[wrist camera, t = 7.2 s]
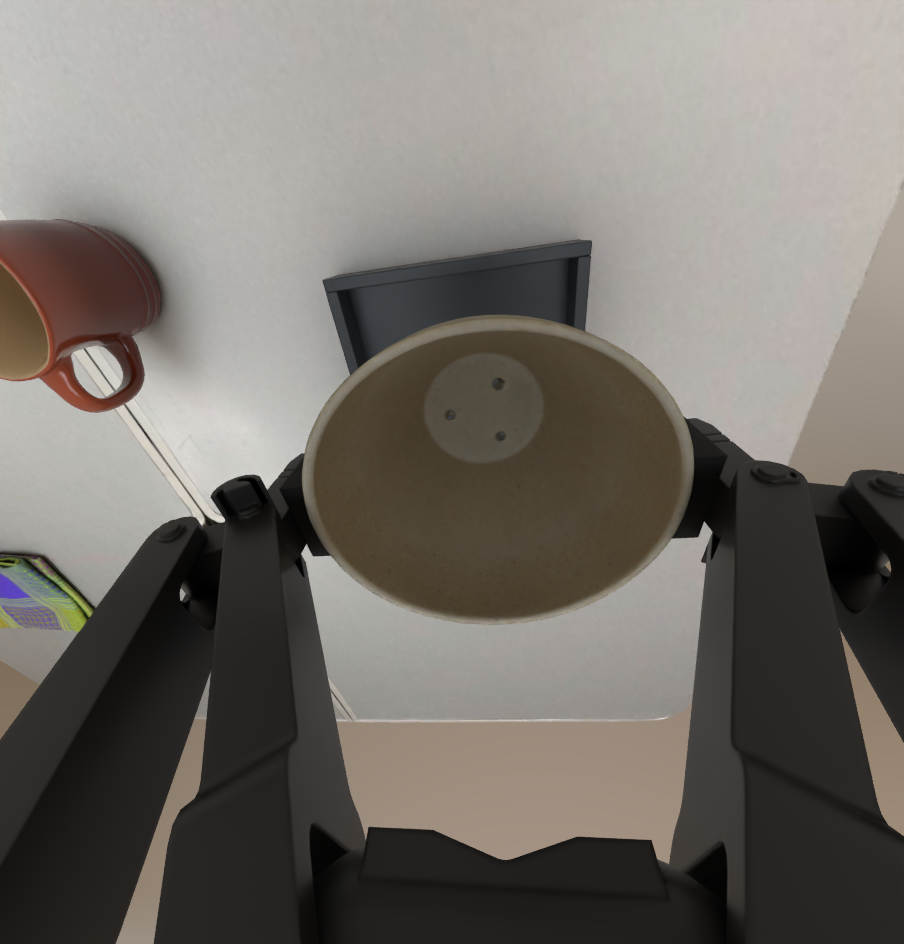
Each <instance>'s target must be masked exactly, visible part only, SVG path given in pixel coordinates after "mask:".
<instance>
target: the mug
mask: <svg viewBox="0 0 904 944" xmlns="http://www.w3.org/2000/svg"><path fill="white" fill-rule="evenodd" d="M160 309H161V296H160V291H159V287H158V284H157V282H156V279H155V277H154V275H153V273H152V272H151V270H150V268H149V267H148V265H147V264H146V262H145V261H144V260H143V259H142V257H141V256H140V255H139V254H138V253H137V252H136V251H135V250H134V249H133V248H132V247H131V246H130V245H129V244H127V243H126V242H125V241H124V240H122V239H121V238H119V237H118V236H116V235H115V234H113V233H111V232H109V231H107V230H105V229H102V228H99V227H96V226H91V225H88V224H85V223H80V222H73V221H69V220H63V219H54V220H0V379H4V380H9V381H27V380H32V379H36V378H39V379H41V380H42V381H43V382H44V383H45V384H46V385H47V386H48V387H50V388H51V389H52V390H54V391H55V392H56V393H57V394H58V395H59V396H60V397H61V398H63V399H64V400H65V401H66V402H68V403H69V404H71V405H72V406H74V407H76V408H78V409H80V410H83V411H87V412H95V413H99V412H105V411H109V410H112V409H115V408H118V407H120V406H122V405H124V404H125V403H127V402H129V401H130V400H131V399H133V398H134V397H135V396H136V395H137V394H138V392H139V391H140V389H141V387H142V385H143V382H144V376H145V373H144V367H143V363H142V359H141V355H140V352H139V349H138V346H137V344H136V342H135V341H134V339H133V337H132V336H134V335H136V334H137V333H139V332H141V331H143V330H145V329H146V328H147V327H149V326H150V325H151V324H153V323H154V322H155V321H156V320H157V319H158V317H159V314H160ZM92 346H102V347H104V348H106V349H107V350H108V351H109V352H110V353H111V354H112V355H113V356H114V357H115V358H116V359H117V361H118V362H119V364H120V366H121V368H122V371H123V381H122V383H121V385H120V387H119V388H118V389H117V390H116V391H114V392H113V393H112V394H110V395H109V396H107V397H105V398H103V399H100V398H97V397H94V396H93V395H91V394H90V393H88V392H87V391H86V390H85V389H84V388H83V387H82V386H81V384H80V383H79V381H78V380H77V378H76V376H75V372H74V367H73V362H72V358H71V355H72V353H73V352H75V351H77V350H80V349H84V348H87V347H92Z"/></svg>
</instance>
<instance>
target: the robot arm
mask: <svg viewBox="0 0 904 944" xmlns="http://www.w3.org/2000/svg"><path fill="white" fill-rule="evenodd" d="M683 417H684V416H683ZM684 419H685V421H686V424H687V426H688V429H689V433H690V436H691V440H692V445H693V456H694V479H693V486H692V491H691V496H690V499H689V502H688V506H687V509H686V511H685V514H684V517H683V519H682V521H681V522H680V524H679V526H678V528H677V530H676V532H675V534H674V535H673V537H672V538H671V539H673V538H693V537H698V536H699V534H700V531H701V528H702V525H703V523H704V521H705V523H706V524H707V525H708V527H709V528H710V529H711V530H712V535H711V537H710V540H709V542H708V545H707V547H706V550H705V553H704V555H703V558H702V560H701V562H703V563H706V570H705V580H704V590H703V600H702V610H701V620H700V630H699V640H698V650H697V660H696V670H695V680H694V690H693V700H692V710H691V720H690V731H689V740H688V751H687V760H686V770H685V780H684V790H683V799H682V805H681V810H680V814H679V818H678V821H677V824H676V827H675V831H674V836H673V841H672V847H671V855H670V862H669V864H667V863H665V862H662V861H660V860H658V859H657V858H656V854H655V851H654V847H653V844H652V840H635V839H615V838H594V837H575V838H572V839H569V840H566V841H563V842H560V843H557V844H555V845H552V846H549V847H546V848H543V849H540V850H537V851H534V852H532V853H528V854H525V855H523V856H520V857H517V858H514V859H510V860H501V859H497V858H495V857H493V856H491V855H488V854H486V853H484V852H482V851H479V850H477V849H475V848H473V847H470V846H468V845H466V844H464V843H461V842H459V841H457V840H454V839H452V838H450V837H448V836H445V835H443V834H441V833H439V832H436V831H434V830H422V829H401V828H380V827H369V828H368V834H367V839H366V840H365V836H364V831H363V828H362V824H361V821H360V818H359V815H358V812H357V810H356V808H355V805H354V802H353V800H352V797H351V794H350V790H349V785H348V781H347V776H346V770H345V765H344V760H343V755H342V749H341V745H340V739H339V734H338V729H337V723H336V718H335V713H334V708H333V702H332V697H331V692H330V687H329V682H328V676H327V671H326V666H325V661H324V656H323V650H322V645H321V640H320V635H319V630H318V624H317V619H316V614H315V609H314V603H313V598H312V593H311V588H310V583H309V577H308V572H307V567H306V562H305V560H304V558H303V557H302V555H301V553H302V551H303V549H304V547H305V546H306V544H307V545H308V547H309V549H310V551H311V553H312V555H313V556H331V555H330V554H329V553H328V551H327V550H326V549H325V547H324V546H323V544H322V543H321V541H320V540H319V538H318V536H317V533H316V532H315V530H314V528H313V526H312V524H311V521H310V519H309V516H308V513H307V509H306V505H305V501H304V494H303V486H302V470H303V461H304V455H305V453H303V454H300V455H299V456H298V457H296V458H295V459H293V460H292V461H291V462H290V463H289V464H288V465H287V466H286V468H285V469H284V472H282V473H281V474H280V475H279V476H278V479H276V480H275V481H274V483H273V484H272V485H271V486H270V488H269V489H268V490H267V489H266V487H265V485H264V483H263V482H262V480H261V478H260V476H257V475H244V476H240V477H236V478H234V479H232V480H229V481H227V482H225V483H224V484H222V485H220V486H219V487H218V488H217V489H216V490H215V491H214V492H213V493H212V495H211V498H212V500H213V502H214V503H215V505H216V506H217V508H218V509H219V511H220V512H221V514H222V515H223V517H224V518H225V522H223V523H219V524H216V525H212V526H208V527H205V528H203V527H202V526H201V524H200V523H199V521H198V520H197V519H196V518H195V517H182V518H179V519H176V520H171V521H169V522H168V523H165V524H163V525H161V526H160V527H159V528H158V529H157V530H155V531H154V532H153V533H152V534H151V535H150V536H149V537H148V538H147V539H146V540H145V542H144V543H143V545H142V546H141V547H140V549H139V550H138V551H137V553H136V554H135V556H134V557H133V558H132V560H131V561H130V562H129V564H128V565H127V567H126V568H125V569H124V571H123V572H122V573H121V575H120V576H119V578H118V579H117V580H116V582H115V583H114V584H113V586H112V587H111V589H110V590H109V591H108V593H107V594H106V595H105V597H104V598H103V599H102V601H101V602H100V604H99V605H98V606H97V608H96V609H95V610H94V612H93V613H92V615H91V616H90V617H89V619H88V620H87V621H86V623H85V624H84V626H83V627H82V628H81V630H80V631H79V632H78V634H77V635H76V637H75V638H74V639H73V641H72V642H71V643H70V645H69V646H68V648H67V649H66V650H65V652H64V653H63V654H62V656H61V657H60V659H59V660H58V661H57V663H56V664H55V665H54V667H53V668H52V670H51V671H50V672H49V674H48V675H47V676H46V678H45V679H44V680H43V682H42V683H41V685H40V686H39V688H38V689H37V690H36V691H35V693H34V694H33V696H32V697H31V698H30V700H29V701H28V702H27V704H26V705H25V707H24V708H23V709H22V711H21V712H20V714H19V715H18V716H17V718H16V719H15V720H14V722H13V723H12V724H11V726H10V727H9V729H8V730H7V731H6V733H5V734H4V735H3V737H2V738H1V740H0V944H116V941H117V938H118V936H119V933H120V931H121V928H122V925H123V922H124V919H125V916H126V913H127V911H128V908H129V905H130V902H131V899H132V896H133V893H134V890H135V888H136V884H137V882H138V879H139V876H140V873H141V870H142V867H143V865H144V862H145V859H146V856H147V853H148V850H149V847H150V844H151V841H152V838H153V836H154V833H155V830H156V827H157V824H158V821H159V818H160V815H161V813H162V810H163V806H164V804H165V801H166V798H167V795H168V792H169V790H170V786H171V784H172V781H173V778H174V775H175V772H176V769H177V767H178V764H179V761H180V758H181V755H182V752H183V749H184V746H185V743H186V741H187V738H188V735H189V732H190V729H191V726H192V723H193V720H194V718H195V715H196V712H197V709H198V706H199V703H200V700H201V697H202V695H203V692H204V689H205V686H206V683H207V680H208V677H209V674H210V671H211V677H210V688H209V698H208V709H207V720H206V731H205V741H204V752H203V763H202V773H201V782H200V787H199V791H198V793H197V795H196V797H195V799H193V800H192V801H191V802H190V803H188V804H187V805H186V806H185V807H183V808H182V809H181V810H180V812H179V814H178V816H177V817H176V819H175V821H174V823H173V825H172V830H171V834H170V838H169V842H168V846H167V854H166V860H165V867H164V875H163V882H162V889H161V897H160V903H159V910H158V918H157V925H156V931H155V938H154V944H904V836H903V835H901V834H900V833H898V832H897V831H896V830H894V829H893V828H891V827H890V826H889V825H888V824H887V823H886V821H885V819H884V818H883V816H882V815H881V811H880V808H879V805H878V802H877V798H876V794H875V789H874V785H873V780H872V776H871V771H870V767H869V762H868V757H867V753H866V748H865V743H864V739H863V734H862V730H861V725H860V721H859V716H858V712H857V707H856V703H855V698H854V693H853V688H852V684H851V679H850V675H849V670H848V666H847V661H846V657H845V652H844V647H843V643H842V638H841V634H840V630H841V632H842V633H843V635H844V637H845V639H846V641H847V642H848V644H849V646H850V648H851V649H852V651H853V653H854V654H855V657H856V658H857V660H858V662H859V663H860V666H861V667H862V669H863V671H864V673H865V674H866V676H867V678H868V680H869V682H870V683H871V685H872V687H873V689H874V690H875V692H876V694H877V696H878V698H879V699H880V701H881V703H882V705H883V706H884V708H885V710H886V712H887V714H888V715H889V717H890V719H891V721H892V723H893V724H894V726H895V728H896V729H897V731H898V733H899V735H900V737H901V738H902V740H903V742H904V474H901V473H900V474H897V472H892V471H881V470H860V471H856V472H853V473H852V474H851V476H850V477H849V479H848V480H847V482H846V484H845V485H844V486H835V485H825V484H815V483H808V482H807V480H806V479H805V477H804V476H803V475H802V474H801V473H799V472H798V471H796V470H795V469H793V468H790V467H788V466H785V465H783V464H779V463H774V462H770V461H759V460H756V461H755V460H754V459H753V458H752V457H750V456H749V455H748V454H747V453H746V452H744V451H743V450H742V449H741V448H739V447H738V446H737V445H736V444H735V443H733V442H730V439H728V438H727V437H726V436H725V435H722V433H721V432H720V431H719V430H717V429H716V428H715V427H714V426H713V425H711V424H709V423H706V422H704V421H702V420H699V419H697V418H692V419H686V418H685V417H684ZM888 561H890V564H891V572H890V571H889V570H888V569H887V567H886V566H885V564H886V563H887V562H888ZM181 588H182V589H183V591H184V592H185V593H186V595H185V597H184V599H183V600H182V601H180V589H181ZM839 628H840V629H839Z"/></svg>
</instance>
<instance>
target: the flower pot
mask: <svg viewBox="0 0 904 944" xmlns="http://www.w3.org/2000/svg"><path fill="white" fill-rule="evenodd" d="M496 379H498V383H497V384H496V385H494V386H493V383H494V381H495V380H496ZM450 415H451V416H454V418H452V419H448V418H447V417H448V416H450ZM500 432H504V433H505V436H502V435H501V434H500ZM693 479H694V456H693V445H692V440H691V436H690V433H689V429H688V426H687V424H686V421H685V419H684V417H683V414H682V412H681V411H680V409H679V407H678V405H677V404H676V402H675V400H674V398H673V397H672V396H671V395H670V393H669V392H668V391H667V389H666V388H665V386H664V385H663V384H662V383H661V382H660V380H659V379H658V378H657V377H656V376H655V375H654V374H653V373H652V372H651V371H650V370H649V369H647V368H646V367H645V366H644V365H643V364H642V363H641V362H639V361H638V360H637V359H635V358H634V357H633V356H631V355H630V354H628V353H627V352H625V351H623V350H622V349H620V348H618V347H617V346H615V345H613V344H611V343H609V342H607V341H605V340H603V339H601V338H599V337H597V336H595V335H593V334H590V333H588V332H585V331H582V330H579V329H577V328H574V327H571V326H568V325H565V324H562V323H558V322H554V321H550V320H545V319H539V318H534V317H527V316H517V315H481V316H472V317H466V318H460V319H455V320H451V321H447V322H444V323H440V324H436V325H433V326H431V327H428V328H426V329H423V330H420V331H418V332H416V333H414V334H412V335H410V336H407V337H406V338H404V339H402V340H400V341H398V342H396V343H394V344H392V345H391V346H389V347H387V348H386V349H384V350H383V351H381V352H380V353H378V354H377V355H375V356H374V357H372V358H371V359H370V360H368V361H367V362H366V363H364V364H363V365H362V366H361V367H359V368H358V369H357V370H356V371H355V372H354V373H353V374H351V375H350V376H349V377H348V378H347V379H346V380H345V381H344V382H343V383H342V384H341V385H340V386H339V388H338V389H337V390H336V391H335V392H334V393H333V394H332V396H331V397H330V398H329V400H328V401H327V403H326V404H325V406H324V407H323V409H322V411H321V412H320V414H319V416H318V418H317V420H316V422H315V424H314V426H313V428H312V431H311V433H310V435H309V438H308V442H307V445H306V449H305V455H304V461H303V470H302V486H303V494H304V501H305V505H306V509H307V513H308V516H309V519H310V521H311V524H312V526H313V528H314V530H315V532H316V533H317V536H318V538H319V540H320V541H321V543H322V544H323V546H324V547H325V549H326V550H327V551H328V553H329V554H330V555H331V556H332V558H333V559H334V560H335V561H336V562H337V563H338V564H339V566H340V567H341V568H342V569H343V570H344V571H345V572H346V573H347V574H349V575H350V576H351V577H352V578H353V579H355V580H356V581H357V582H358V583H360V584H361V585H362V586H364V587H365V588H367V589H368V590H369V591H371V592H372V593H374V594H376V595H377V596H379V597H381V598H383V599H385V600H387V601H389V602H390V603H393V604H395V605H397V606H400V607H402V608H405V609H407V610H410V611H412V612H415V613H418V614H421V615H424V616H428V617H432V618H436V619H441V620H445V621H452V622H458V623H466V624H481V625H497V624H514V623H524V622H531V621H537V620H542V619H547V618H551V617H555V616H559V615H562V614H565V613H568V612H571V611H574V610H577V609H579V608H581V607H584V606H587V605H589V604H591V603H593V602H595V601H597V600H599V599H601V598H603V597H605V596H607V595H609V594H610V593H612V592H614V591H615V590H617V589H618V588H620V587H622V586H623V585H625V584H626V583H627V582H629V581H630V580H631V579H633V578H634V577H635V576H637V575H638V574H639V573H640V572H641V571H642V570H644V569H645V568H646V567H647V566H648V565H649V564H650V563H651V562H652V561H653V560H654V559H655V558H656V557H657V556H658V555H659V554H660V553H661V552H662V551H663V549H664V548H665V547H666V546H667V544H668V543H669V541H670V540H671V538H672V537H673V535H674V534H675V532H676V530H677V528H678V526H679V524H680V522H681V521H682V519H683V517H684V514H685V511H686V509H687V506H688V502H689V499H690V496H691V491H692V486H693Z"/></svg>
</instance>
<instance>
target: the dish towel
mask: <svg viewBox="0 0 904 944" xmlns="http://www.w3.org/2000/svg"><path fill="white" fill-rule="evenodd" d="M93 612H94V611H93V610H92V608H91V607H90V606H89V605H88V604H87V603H86V602H85V600H83V599H82V597H81V596H80V595H79V594H78V593H77V592H76V591H74V589H73V588H72V587H70V586H69V584H67V583H66V582H65V581H64V580H63V579H62V578H61V577H60V576H58V575H57V573H56V572H55V571H53V570H52V568H51V567H50V566H49V565H48V564H47V563H46V562H45V561H44V560H43V559H42V558H41V557H36V556H15V555H2V554H0V628H6V627H8V628H39V629H49V630H66V631H76V632H79V631H80V630H81V628H82V627H83V626H84V624H85V623H86V621H87V620H88V619H89V617H90V616H91V615H92V613H93Z"/></svg>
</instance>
